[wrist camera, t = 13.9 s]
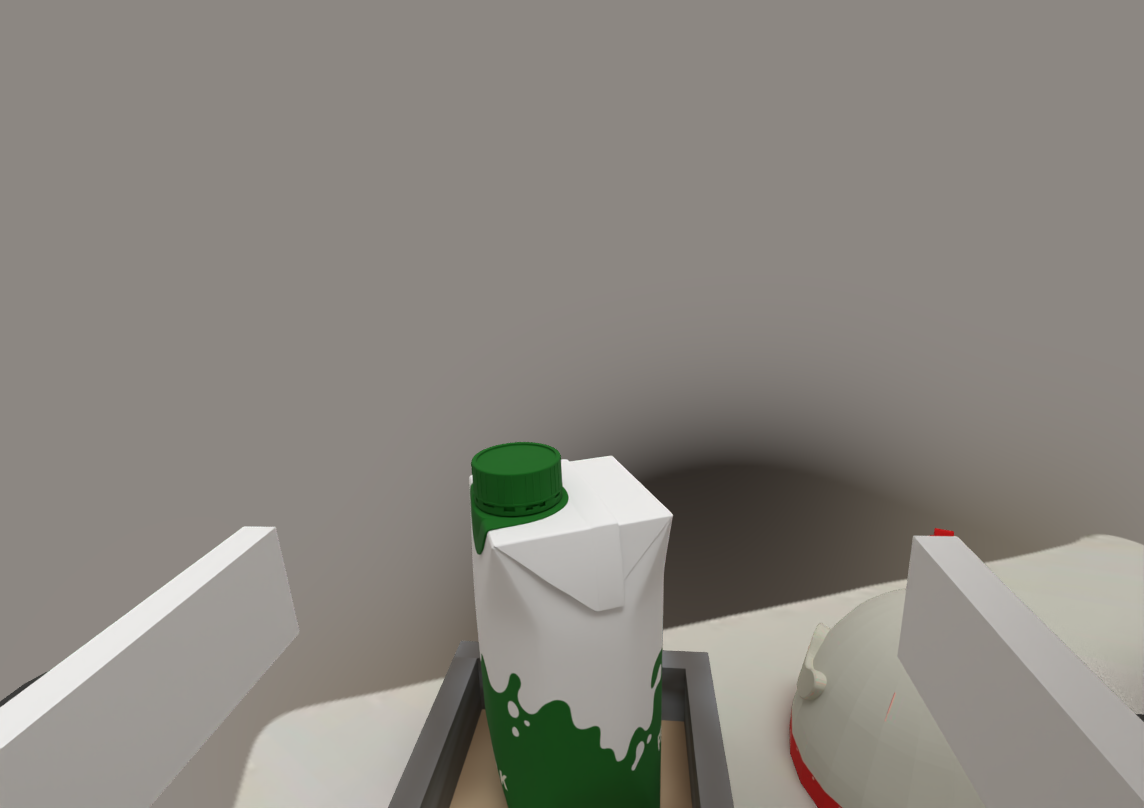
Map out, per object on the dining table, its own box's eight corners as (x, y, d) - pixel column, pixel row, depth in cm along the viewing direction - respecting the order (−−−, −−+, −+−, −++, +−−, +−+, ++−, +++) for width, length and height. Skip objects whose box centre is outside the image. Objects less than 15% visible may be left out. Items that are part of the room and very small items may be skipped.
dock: (704, 728, 38) (707, 652, 36) (746, 1032, 23) (754, 928, 22) (468, 714, 39) (461, 640, 38) (372, 986, 25) (353, 887, 23)
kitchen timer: (1031, 726, 37) (1080, 517, 33) (1100, 956, 25) (1191, 677, 21) (801, 661, 43) (819, 479, 39) (772, 822, 32) (792, 586, 27)
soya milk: (483, 746, 34) (453, 433, 29) (623, 708, 37) (619, 412, 31) (511, 900, 26) (475, 506, 21) (687, 838, 29) (698, 471, 23)
